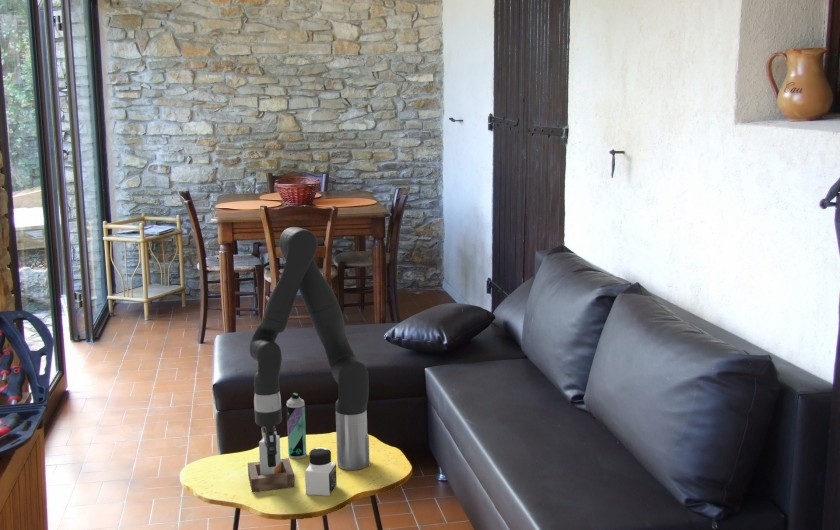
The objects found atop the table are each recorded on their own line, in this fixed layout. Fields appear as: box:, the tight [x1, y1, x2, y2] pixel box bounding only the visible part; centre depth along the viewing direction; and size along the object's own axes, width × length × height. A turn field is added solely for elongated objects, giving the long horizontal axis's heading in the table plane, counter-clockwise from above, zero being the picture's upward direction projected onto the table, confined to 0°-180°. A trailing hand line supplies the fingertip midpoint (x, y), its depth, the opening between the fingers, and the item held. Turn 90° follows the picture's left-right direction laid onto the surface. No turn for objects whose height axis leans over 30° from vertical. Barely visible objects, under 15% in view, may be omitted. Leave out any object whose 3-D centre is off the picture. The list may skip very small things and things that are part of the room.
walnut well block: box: [247, 457, 296, 493], centre depth 257 cm, size 12×12×4 cm
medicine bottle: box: [304, 447, 338, 497], centre depth 250 cm, size 7×7×12 cm
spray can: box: [286, 392, 307, 460], centre depth 274 cm, size 6×6×20 cm
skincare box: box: [258, 434, 281, 475], centre depth 256 cm, size 6×4×12 cm
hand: (270, 461), depth 256 cm, fingers closed on skincare box, 7 cm apart
